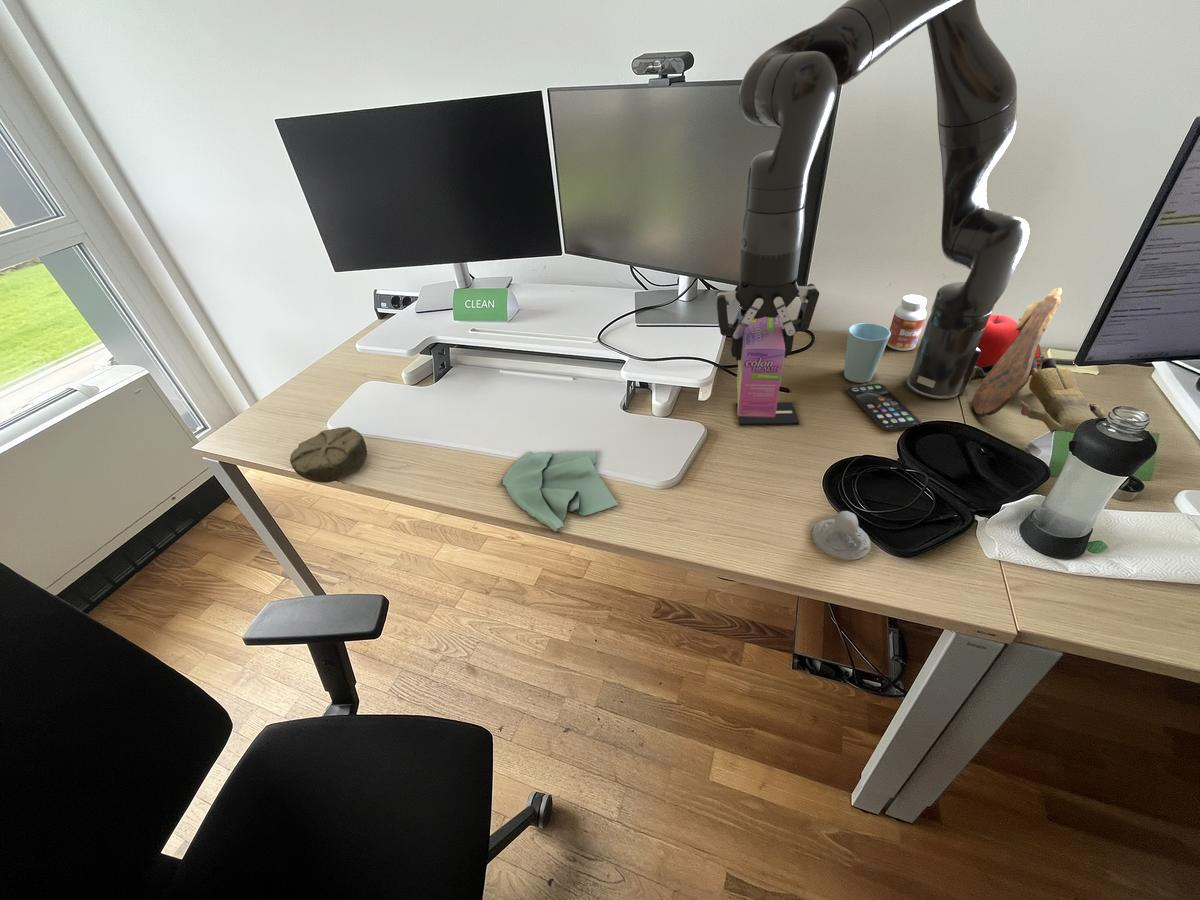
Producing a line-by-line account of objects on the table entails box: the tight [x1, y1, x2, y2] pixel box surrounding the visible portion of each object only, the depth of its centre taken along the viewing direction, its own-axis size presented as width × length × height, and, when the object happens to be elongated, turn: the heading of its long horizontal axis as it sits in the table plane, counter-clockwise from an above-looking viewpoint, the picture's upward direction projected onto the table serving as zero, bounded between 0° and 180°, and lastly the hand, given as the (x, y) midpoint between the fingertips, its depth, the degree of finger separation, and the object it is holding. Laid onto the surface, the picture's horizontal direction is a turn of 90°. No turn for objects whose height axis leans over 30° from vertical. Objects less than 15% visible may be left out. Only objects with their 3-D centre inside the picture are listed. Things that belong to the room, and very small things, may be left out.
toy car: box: [1018, 317, 1045, 366], centre depth 107 cm, size 12×5×3 cm
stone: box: [289, 426, 368, 484], centre depth 100 cm, size 13×13×5 cm
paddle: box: [972, 287, 1063, 417], centre depth 99 cm, size 8×3×30 cm
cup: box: [843, 322, 891, 384], centre depth 108 cm, size 8×8×10 cm
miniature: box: [811, 510, 872, 561], centre depth 76 cm, size 8×8×5 cm
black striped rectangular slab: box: [735, 401, 800, 426], centre depth 103 cm, size 11×7×1 cm, turn 85°
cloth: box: [501, 451, 619, 532], centre depth 91 cm, size 20×22×2 cm
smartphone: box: [846, 382, 922, 432], centre depth 102 cm, size 7×1×15 cm
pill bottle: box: [886, 294, 928, 352], centre depth 117 cm, size 6×6×11 cm
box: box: [736, 315, 785, 417], centre depth 80 cm, size 10×6×12 cm, turn 169°
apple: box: [975, 313, 1020, 368], centre depth 108 cm, size 10×10×11 cm
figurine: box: [1019, 357, 1130, 490], centre depth 89 cm, size 11×9×30 cm
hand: (759, 356), depth 79 cm, fingers closed on box, 6 cm apart
